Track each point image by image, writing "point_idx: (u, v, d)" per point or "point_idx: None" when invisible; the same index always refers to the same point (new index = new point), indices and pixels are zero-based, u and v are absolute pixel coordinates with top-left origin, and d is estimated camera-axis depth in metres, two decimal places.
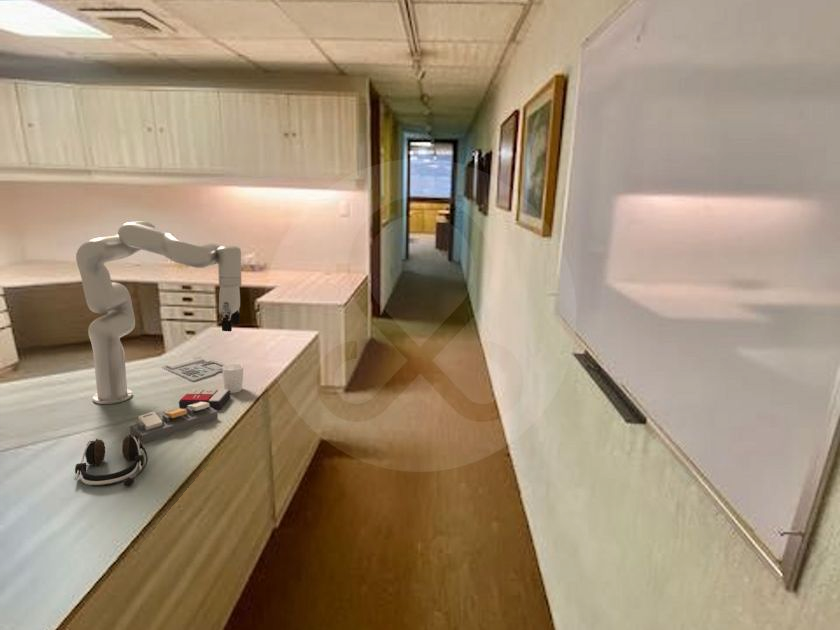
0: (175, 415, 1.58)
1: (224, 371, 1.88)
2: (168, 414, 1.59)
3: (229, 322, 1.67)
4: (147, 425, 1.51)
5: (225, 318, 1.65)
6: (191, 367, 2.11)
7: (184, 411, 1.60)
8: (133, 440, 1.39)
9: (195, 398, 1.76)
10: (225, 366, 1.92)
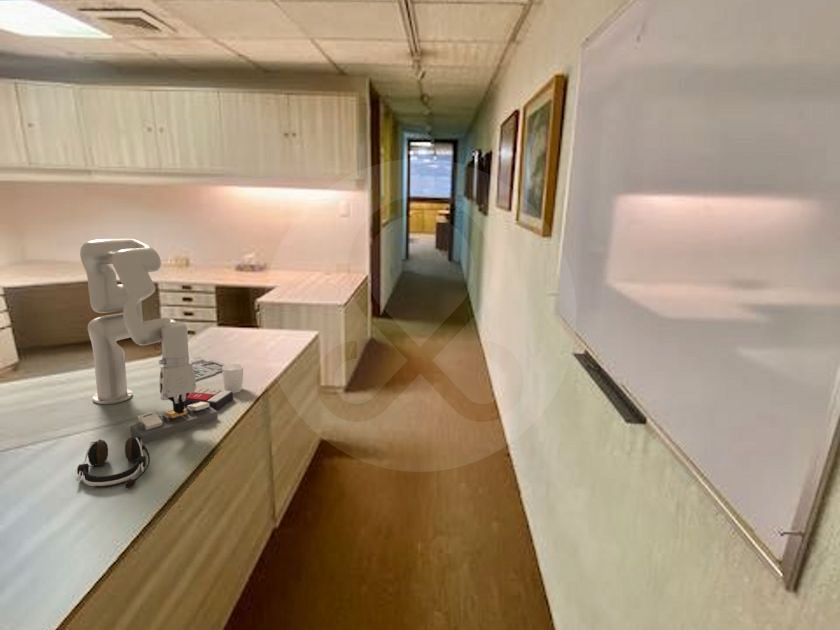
0: (175, 415, 1.58)
1: (224, 371, 1.88)
2: (168, 414, 1.59)
3: None
4: (147, 425, 1.51)
5: None
6: None
7: (184, 411, 1.60)
8: (136, 441, 1.39)
9: (196, 397, 1.77)
10: (225, 366, 1.92)
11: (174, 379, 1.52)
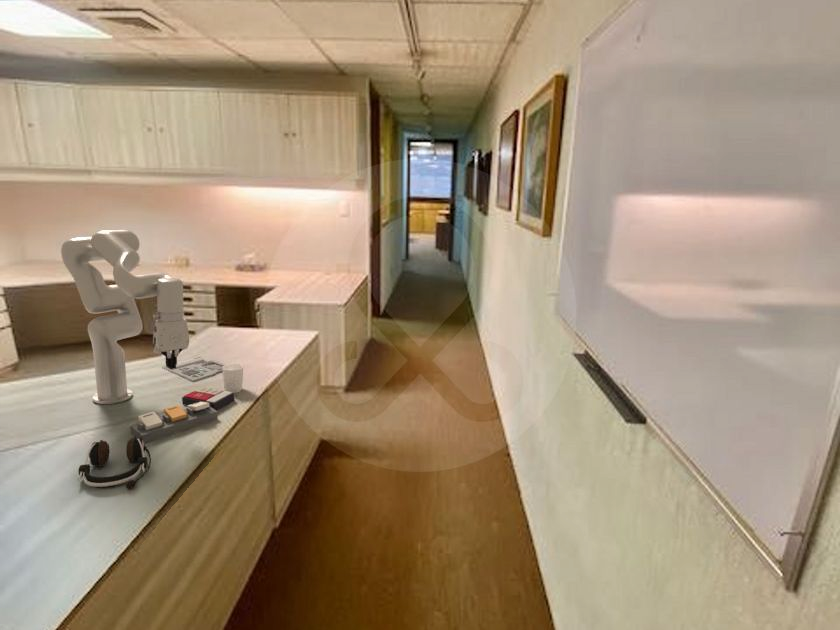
0: (175, 419, 1.58)
1: (224, 371, 1.88)
2: (168, 415, 1.59)
3: None
4: (147, 425, 1.51)
5: None
6: (191, 367, 2.11)
7: (184, 415, 1.60)
8: (137, 442, 1.38)
9: (196, 396, 1.77)
10: (225, 366, 1.92)
11: (167, 334, 1.54)
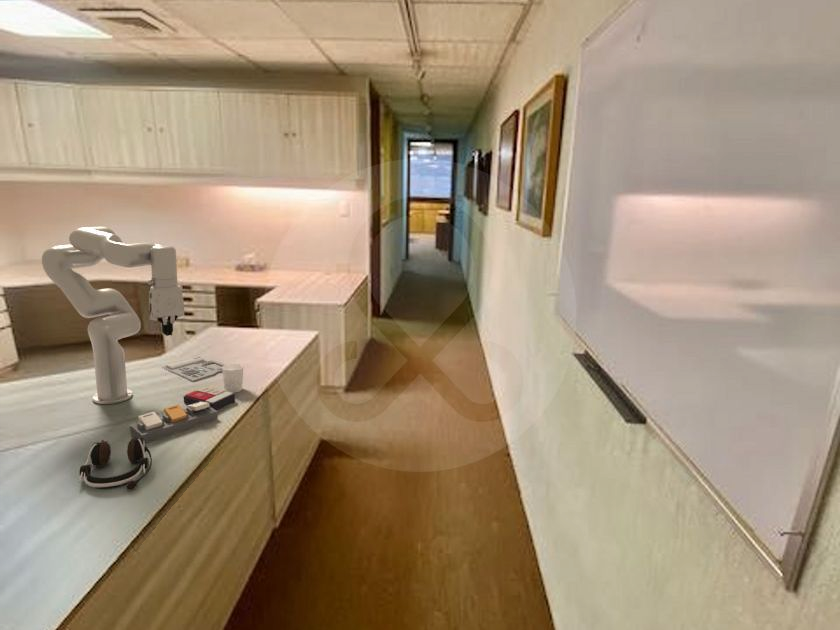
0: (175, 420, 1.58)
1: (224, 371, 1.88)
2: (168, 415, 1.59)
3: None
4: (147, 425, 1.51)
5: None
6: (191, 367, 2.11)
7: (184, 416, 1.61)
8: (138, 442, 1.38)
9: (197, 396, 1.78)
10: (225, 366, 1.92)
11: (162, 300, 1.58)
